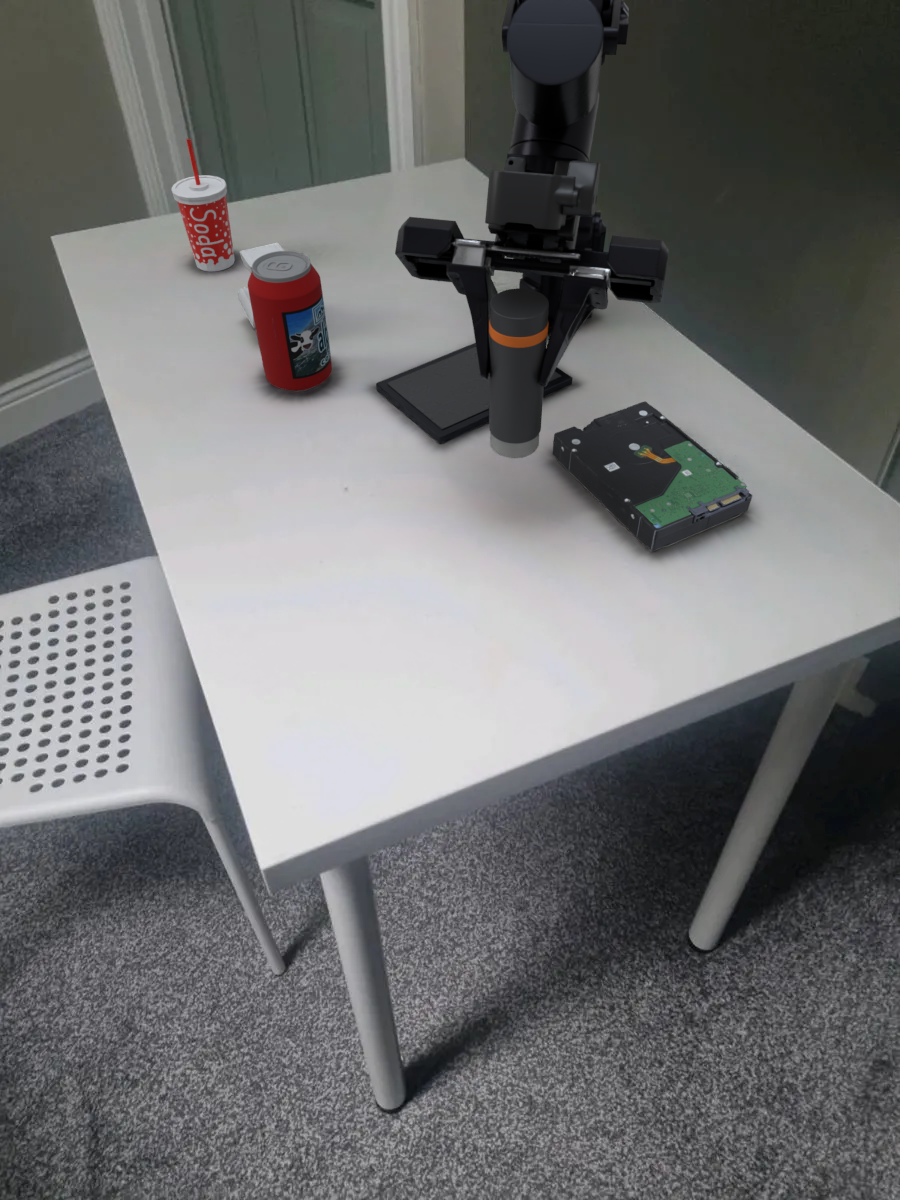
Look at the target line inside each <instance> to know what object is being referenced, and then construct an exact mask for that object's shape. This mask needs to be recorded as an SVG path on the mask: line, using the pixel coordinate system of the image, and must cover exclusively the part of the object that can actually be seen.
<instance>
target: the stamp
mask: <svg viewBox="0 0 900 1200" xmlns="http://www.w3.org/2000/svg"><path fill="white" fill-rule="evenodd" d="M276 251H285V250H284V248H283V247H282V246H281V245H280V244H279V243H278V242H274V243H269V244H265V245H260V246H256V247H251V248H247V249H242V250H239V255H240V258H241V261H242V263H243V265H244V266H245V267H246V269H247V270H248V271H249V273H250V274H251V272H252V264H253V262H254V261H255V260H256V259H257V258H259V257H261V256H263V255H265V254H268V253H271V252H276ZM237 300H238V302H239V304H240V306H241V307H242V310H243V311H244V313H245V316H246V317H247V319H248V321H249V322H250V325H251V327H252V328H253V329H254V330H255V331H256V328H255V323H254V317H253V312H252V307H251V302H250V296H249V291H248V286H244V287H241V288H239V289H238V292H237Z"/></svg>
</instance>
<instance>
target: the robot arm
mask: <svg viewBox="0 0 900 1200" xmlns="http://www.w3.org/2000/svg"><path fill="white" fill-rule="evenodd" d="M629 14H630V8H629V6H628V5H627V4H626V3H625V0H507V3H506V8H505V12H504V16H503V21H502V26H501V44H502V51H503V53H507V56H508V57H507V58H508V59H507V60H508V67H509V69H508V70H509V78H510V89H511V98H512V102H513V105H514V108H515V111H514V116H513V123H512V129H511V136H510V144H509V148H508V153H507V155H506V160H505V163H504V169H503V170H501V169H490V170H489V176H488V185H487V195H486V207H485V209H486V210H485V218H484V219H485V221H484V223H485V224H486V225H487V224H488V225H487V229H488V231H489V234H491V235H495V236H494V237H495V238H494V240H483V239H475V238H465V237H464V235H463V233H462V231H461V229H460V228H459V225H458V223H457V221H456V220H450V219H439V218H427V217H417V216H416V217H415V216H409V217H408V218H407V219H406V220H405V221H404V222H403V223H402V224H401V225H400V227H399V229H398V232H397V236H396V237H397V238H396V244H395V251H394V254H395V256H396V257H397V259H398V261H400V262H401V264H402V265H403V266H404V268H405V269H406V270H407V272H408V273H409V275H410V276H411V277H412V278H416V279H418V280H426V281H433V282H434V281H435V282H444V283H452V285H453V287H454V288H455V290H456V292H457V293H458V294H460V295H463V296H465V298H466V302H467V305H468V309H469V312H470V316H471V321H472V328H473V329H472V330H473V334H474V335H473V336H474V343H476V349H477V355H478V362H479V369H480V375H481V377H482V379H488V376H489V372H490V333H489V321H490V302H491V300H492V298H493V297H494V296H495V295H496V294H498V293H499V292H498V289H497V288H496V286H495V283H494V282H493V279H492V277H494V275H495V271H499V272H510V273H518V274H520V273H521V274H522V275H521V278H520V279H519V283H518V284H519V286H518V288H522V289H530V290H534V291H537V292H539V293H541V294H543V295H544V296H545V297H546V298H547V300H548V302H549V310H548V334H547V335H549V336H548V337H549V338H548V339H547V343H546V351H545V355H544V358H543V363H542V369H541V377H540V385H541V386H543V387H546V386H547V384H548V382H549V380H550V378H551V377H552V375H553V373H554V371H555V369H556V367H557V368H558V365H559V364H560V362H561V360H562V358H563V356H564V354H565V353H566V351H567V349H568V347H569V345H570V344H571V342H572V340H573V339H574V337H575V336H576V334H577V332H578V331H579V330H580V328H582V326H583V325H584V324H585V322H586V320H588V319H591V318H592V317H593V311H594V310H601V311H603V310H606V309H608V305H609V296H608V295H609V294H608V289H609V290H610V292H611V293H612V294H613V296H614V297H615V298H616V300H617V301H627V302H634V303H635V302H636V303H646V304H657V303H661V302H662V297H663V292H664V286H665V279H666V274H667V268H668V261H669V254H670V249H669V248H668V246H667V245H666V243H665V242H664V240H663V239H656V238H647V237H646V238H645V237H633V236H623V235H613V234H612V235H611V239H610V242H609V246H608V251H604V249H605V244H606V243H605V242H606V235H607V226H606V225H605V223H604V222H603V217H601V214H602V210H596V208H597V200H598V194H599V184H600V173H601V162H599V161H590V159H591V153H592V147H593V141H594V134H595V130H596V129H595V128H596V124H597V123H596V122H597V117H598V111H599V110H598V109H599V105H600V98H601V96H600V91H599V90H600V81H601V71H602V66H603V65H604V64H605V61H606V56H617V50H618V45H619V46H621V45H623V46H626V45H627V41H628V40H627V39H628V31H629V18H630V17H629V16H630V15H629Z"/></svg>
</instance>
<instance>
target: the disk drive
mask: <svg viewBox="0 0 900 1200" xmlns="http://www.w3.org/2000/svg"><path fill="white" fill-rule="evenodd" d="M552 440H553V441H552V451H551V452H552V453H551V455H552V456H553V457H555V458H556V461H557V462H558V463H559V464H560V465H561V466H562V467H563V468H564V469H565V470H566V471H567V472H568V473H569V474H570V475H571V476H572V477H573V478H575V479H576V481H577V482H578V483H580V485H582V486H583V487H584V489H586V490H587V492H589V494H591V495H592V496H593V497H594V498H595V499H596V500H597V501H598V502H599V503H601V504H602V505H603V506H604V507H605V509H606V510H607V511H608V512H609V513H610V514H611V515H612V517H614V518H615V519H616V520H617V521H618V522H620V523H621V525H623V526H624V527H625V528H626V529H627V531H629V532H630V534H631V535H633V537H635V538H636V539H637V540H638V541H639V542H640V543H641V544H642V545H644V547H646V548H648V549H649V551H650V552H656V551H657V550H659V549H663V548H667V547H669V546H671V545H674V544H677V543H678V542H679V543H680V542H681V541H683V540H685V539H688V538H691V537H692V536H695V535H698V534H700V533H702V532H704V531H707V530H709V529H711V528H714V527H717V526H719V525H721V524H724V523H725V522H728V521H730V520H732V519H735V518H737V517H739V516H741V515H742V514H744V513H747V512H748V511H749V507H750V505H751V503H752V502H751V501H752V498H753V494H752V493H751V492H750V490H749V489H747V488H748V485H747V484H746V483H744V482H743V481H742V480H740V477H739V476H738V474H736V473H735V472H734V471H732V469H730V468H729V467H727V466H725V464H723V463H722V462H720V461H719V460H718V458H716V457H715V456H714V455H713V454H712V453H710V452H709V451H708V450H707V449H705V448H704V447H702V445H700V444H699V443H698V442H697V441H696V440H694V439H693V438H691V437H690V436H689V435H688V434H687V433H686V432H684V431H683V430H682V429H681V428H680V427H678V426H677V425H676V424H674V422H672V421H671V420H670V419H669V418H667V417H666V416H665V415H664V414H663V413H662V412H661V411H660V410H658V409H656V407H654V406H652V405H651V404H649V402H647V401H641V402H639V403H635V404H633V405H630V406H628V407H626V408H623V409H620V410H616V411H614V412H611V413H607V414H605V415H602V416H598V417H596V418H594V419H593V420H592V421H590V423H588V424H587V425H586V426H584V427H583V428H582V429H581V428H578V427H576V426H571V427H569V428H565V429H563V430H560V431H558V432H555V433H554V434H553V439H552Z"/></svg>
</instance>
